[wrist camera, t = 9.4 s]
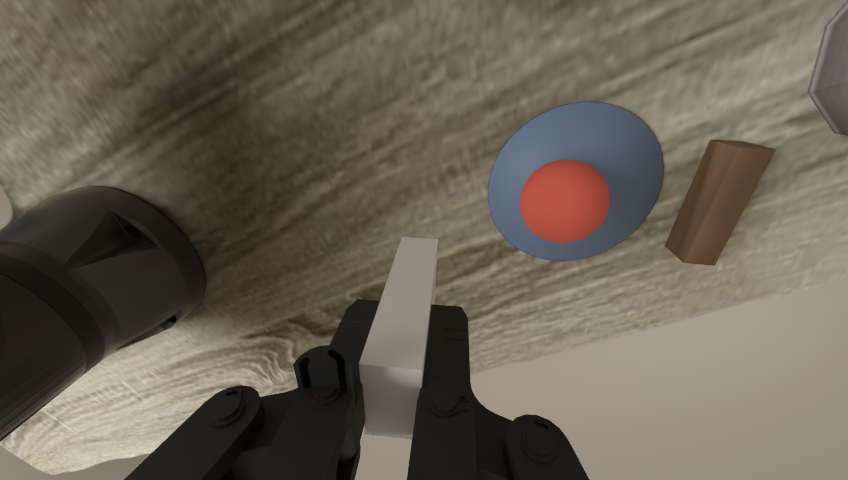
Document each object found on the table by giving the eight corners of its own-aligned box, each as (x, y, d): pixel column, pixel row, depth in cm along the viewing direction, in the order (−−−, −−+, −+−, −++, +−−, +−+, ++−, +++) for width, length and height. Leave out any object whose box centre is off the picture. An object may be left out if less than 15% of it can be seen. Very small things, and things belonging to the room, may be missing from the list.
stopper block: (665, 246, 25) (683, 262, 23) (710, 139, 21) (738, 147, 19) (692, 248, 25) (714, 265, 23) (743, 141, 21) (775, 149, 19)
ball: (612, 245, 22) (547, 217, 26) (640, 166, 20) (563, 148, 24) (561, 266, 19) (497, 231, 24) (585, 177, 17) (509, 155, 21)
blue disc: (479, 252, 27) (480, 254, 27) (499, 98, 22) (499, 98, 21) (629, 265, 26) (630, 267, 26) (690, 105, 20) (692, 106, 20)
